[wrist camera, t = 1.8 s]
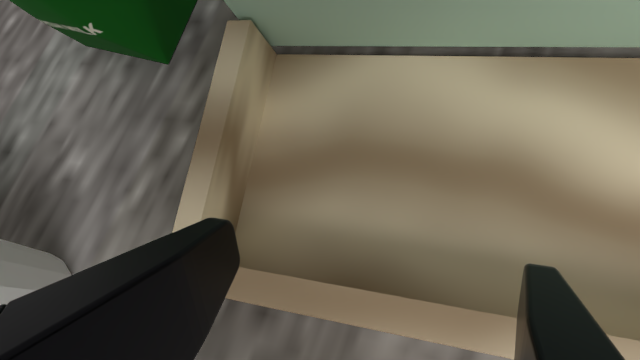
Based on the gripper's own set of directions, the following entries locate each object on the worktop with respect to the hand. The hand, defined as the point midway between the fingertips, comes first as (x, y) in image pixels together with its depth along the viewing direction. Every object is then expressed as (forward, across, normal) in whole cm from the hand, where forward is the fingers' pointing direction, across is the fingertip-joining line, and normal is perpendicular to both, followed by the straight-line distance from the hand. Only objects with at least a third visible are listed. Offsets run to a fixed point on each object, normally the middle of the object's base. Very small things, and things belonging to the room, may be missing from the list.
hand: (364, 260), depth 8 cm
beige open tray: (+13, 0, +6) cm, 14 cm away
